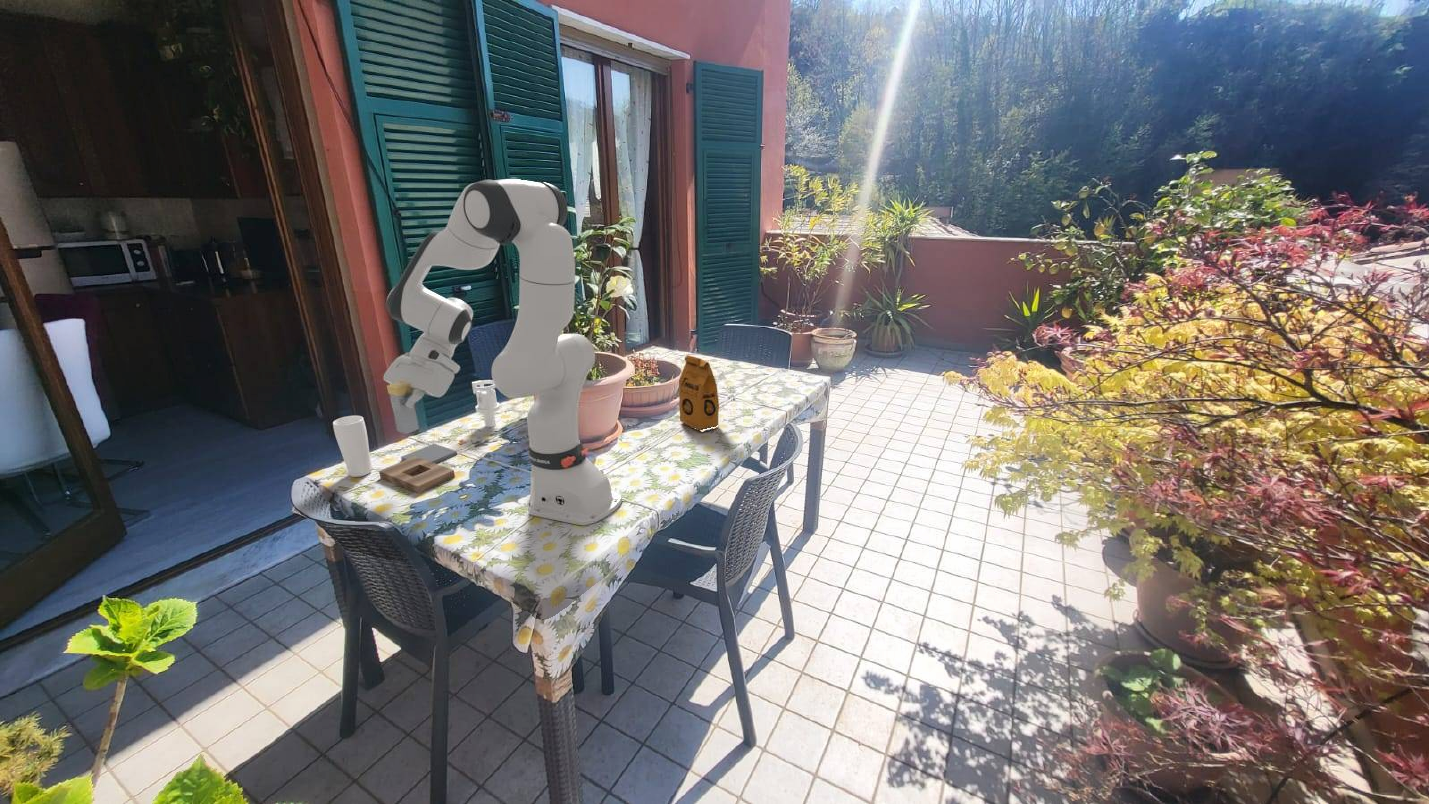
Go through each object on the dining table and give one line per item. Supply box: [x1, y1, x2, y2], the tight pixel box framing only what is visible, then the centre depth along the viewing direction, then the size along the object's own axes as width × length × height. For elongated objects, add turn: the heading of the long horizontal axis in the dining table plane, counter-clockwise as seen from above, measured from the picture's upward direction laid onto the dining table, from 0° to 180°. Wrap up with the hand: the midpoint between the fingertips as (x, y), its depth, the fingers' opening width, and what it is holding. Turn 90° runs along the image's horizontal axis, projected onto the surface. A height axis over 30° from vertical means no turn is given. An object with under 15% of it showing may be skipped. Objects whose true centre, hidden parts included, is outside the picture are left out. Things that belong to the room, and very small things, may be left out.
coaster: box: [400, 443, 458, 464], centre depth 157 cm, size 10×10×1 cm
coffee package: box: [678, 354, 720, 431], centre depth 175 cm, size 10×12×22 cm
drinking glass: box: [332, 415, 373, 478], centre depth 146 cm, size 7×7×15 cm
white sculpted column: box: [471, 379, 501, 428], centre depth 176 cm, size 7×7×15 cm
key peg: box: [386, 381, 420, 435], centre depth 139 cm, size 4×4×12 cm
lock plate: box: [378, 456, 456, 494], centre depth 146 cm, size 16×10×2 cm, turn 60°
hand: (400, 405), depth 139 cm, fingers closed on key peg, 3 cm apart
